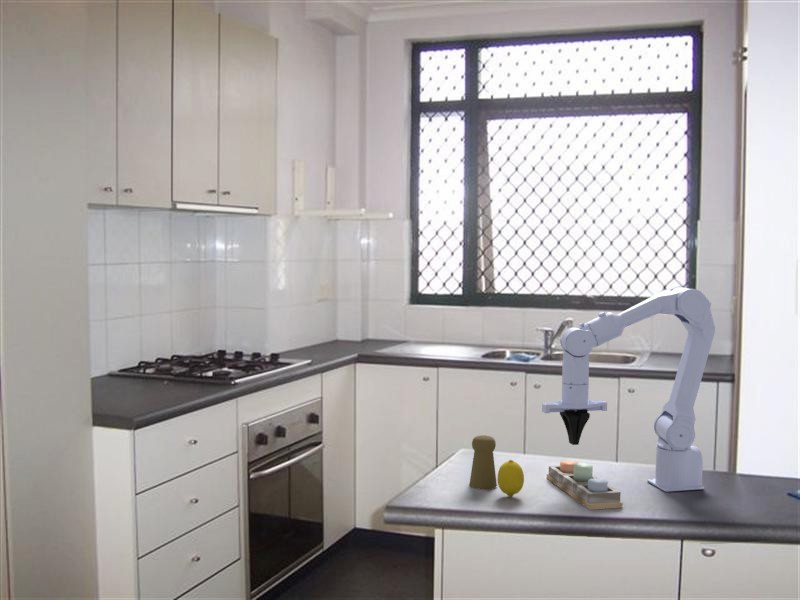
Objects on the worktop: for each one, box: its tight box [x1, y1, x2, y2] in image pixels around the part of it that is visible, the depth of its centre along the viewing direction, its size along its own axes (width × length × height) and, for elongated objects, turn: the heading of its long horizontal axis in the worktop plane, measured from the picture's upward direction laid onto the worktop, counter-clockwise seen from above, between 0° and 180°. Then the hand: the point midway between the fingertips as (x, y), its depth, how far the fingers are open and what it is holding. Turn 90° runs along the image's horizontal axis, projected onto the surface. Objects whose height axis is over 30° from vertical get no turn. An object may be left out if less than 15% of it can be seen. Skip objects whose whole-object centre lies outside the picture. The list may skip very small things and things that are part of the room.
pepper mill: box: [468, 435, 498, 490], centre depth 184 cm, size 6×6×11 cm
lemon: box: [497, 459, 525, 498], centre depth 176 cm, size 6×6×8 cm
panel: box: [546, 464, 624, 511], centre depth 180 cm, size 22×7×3 cm, turn 13°
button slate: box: [588, 478, 609, 492], centre depth 173 cm, size 4×4×3 cm
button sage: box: [573, 462, 594, 482], centre depth 180 cm, size 4×4×3 cm
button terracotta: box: [559, 460, 578, 473], centre depth 187 cm, size 4×4×3 cm
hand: (573, 443), depth 184 cm, fingers closed
